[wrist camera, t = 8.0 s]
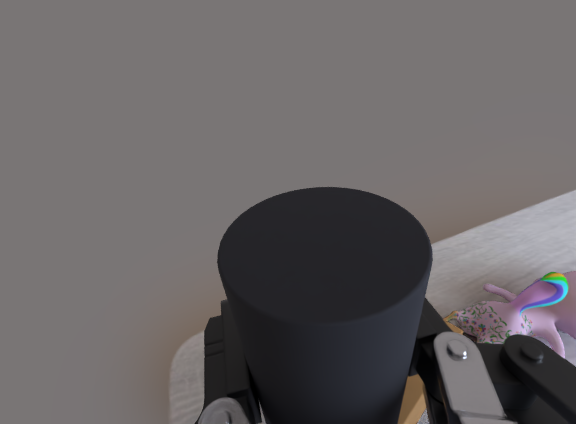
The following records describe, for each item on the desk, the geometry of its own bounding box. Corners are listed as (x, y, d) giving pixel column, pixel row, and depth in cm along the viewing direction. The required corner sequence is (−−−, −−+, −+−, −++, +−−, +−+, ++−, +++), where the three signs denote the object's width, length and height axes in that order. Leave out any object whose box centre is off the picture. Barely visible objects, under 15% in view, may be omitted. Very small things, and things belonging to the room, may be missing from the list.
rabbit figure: (478, 408, 18) (724, 334, 18) (488, 356, 15) (790, 264, 14) (424, 321, 23) (613, 263, 23) (422, 269, 20) (643, 199, 20)
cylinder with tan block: (340, 561, 12) (334, 387, 4) (257, 446, 15) (178, 244, 8) (454, 369, 17) (533, 155, 10) (375, 317, 20) (391, 129, 13)
